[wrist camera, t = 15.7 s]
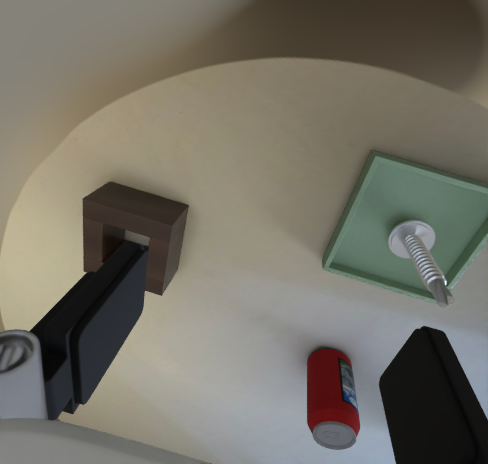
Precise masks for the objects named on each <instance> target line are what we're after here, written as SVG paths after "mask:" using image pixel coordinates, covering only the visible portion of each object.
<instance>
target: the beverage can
mask: <svg viewBox="0 0 488 464" xmlns="http://www.w3.org/2000/svg"><path fill="white" fill-rule="evenodd" d="M307 423H308V426H309V428H310V430H311V432H312V434H313V438H314V440H315V441H316V442H317V443H318V444H320V445H321V446H323V447H326V448H329V449H335V450H340V449H346V448H349V447H351V446H353V445H354V444H355V442H356V437H357V434H358V432H359V430H360V421H359V413H358V406H357V399H356V391H355V385H354V378H353V372H352V365H351V361H350V359H349V358H348V357H347V356H346V355H345V354H343V353H342V352H340V351H337V350H332V349H323V350H319V351H316V352H314V353H313V354H312V355H311V356H310V357H309V359H308V362H307Z"/></svg>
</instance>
